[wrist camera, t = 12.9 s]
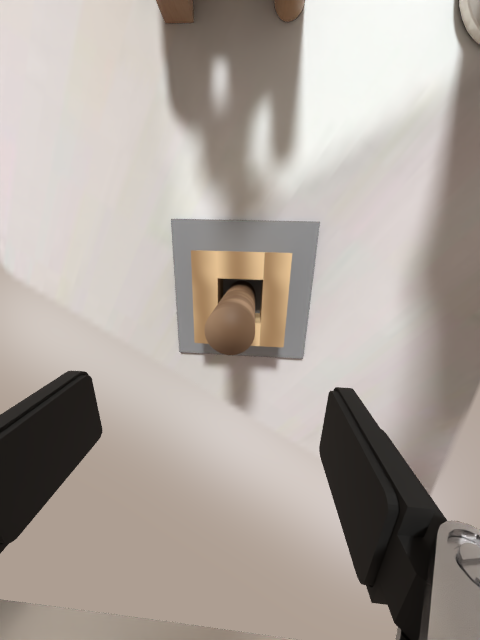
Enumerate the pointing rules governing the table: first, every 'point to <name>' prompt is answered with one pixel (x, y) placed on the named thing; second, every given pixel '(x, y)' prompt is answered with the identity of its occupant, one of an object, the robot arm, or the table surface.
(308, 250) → the slate mat
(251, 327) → the walnut dowel
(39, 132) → the table surface
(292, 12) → the wooden toy
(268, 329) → the square-hole wood block
